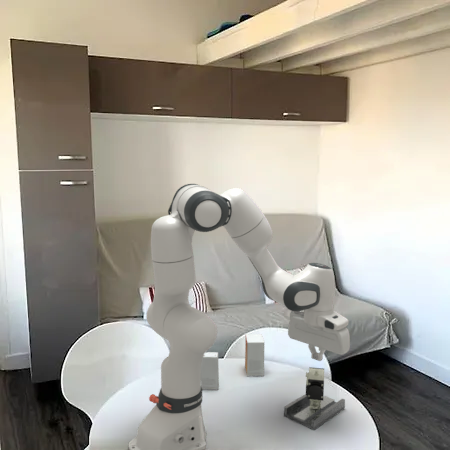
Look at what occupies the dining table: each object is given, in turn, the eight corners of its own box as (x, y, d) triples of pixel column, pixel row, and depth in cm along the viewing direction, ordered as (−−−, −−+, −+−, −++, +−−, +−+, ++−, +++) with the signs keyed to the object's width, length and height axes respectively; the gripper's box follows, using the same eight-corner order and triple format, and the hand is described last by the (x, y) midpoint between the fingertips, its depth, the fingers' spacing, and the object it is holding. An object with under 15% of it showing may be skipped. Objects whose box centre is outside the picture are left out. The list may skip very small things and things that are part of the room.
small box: (244, 366, 190) (245, 333, 188) (261, 366, 190) (262, 333, 188) (246, 376, 182) (247, 342, 180) (264, 376, 182) (264, 342, 180)
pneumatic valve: (323, 398, 164) (324, 363, 162) (322, 417, 152) (324, 380, 150) (305, 396, 165) (306, 361, 163) (303, 415, 154) (305, 378, 152)
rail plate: (314, 430, 149) (314, 420, 148) (283, 416, 156) (284, 407, 156) (344, 408, 161) (345, 399, 160) (315, 396, 168) (315, 388, 168)
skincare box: (218, 384, 176) (219, 351, 174) (218, 390, 172) (218, 356, 170) (201, 384, 176) (201, 351, 175) (200, 390, 172) (200, 356, 170)
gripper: (284, 310, 158) (283, 352, 160) (342, 327, 144) (340, 372, 147) (296, 305, 163) (295, 346, 165) (353, 321, 149) (351, 366, 151)
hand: (316, 359), depth 156 cm, fingers closed
